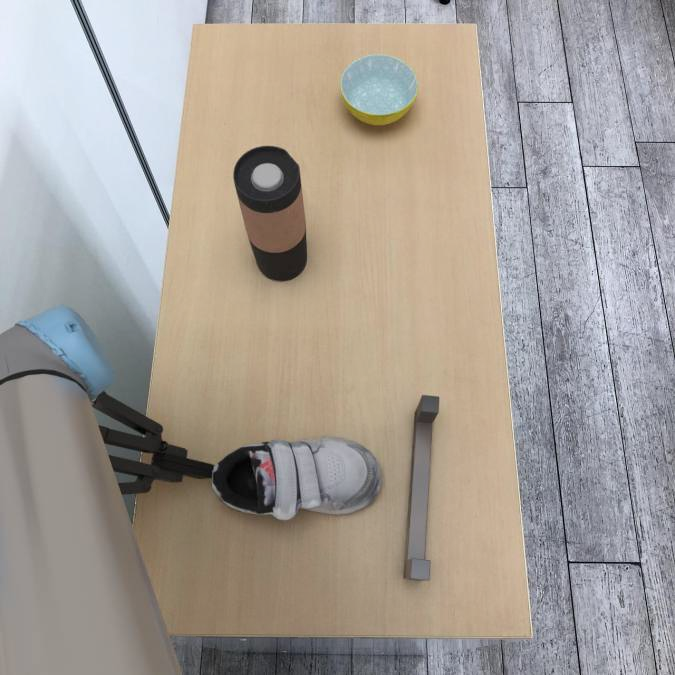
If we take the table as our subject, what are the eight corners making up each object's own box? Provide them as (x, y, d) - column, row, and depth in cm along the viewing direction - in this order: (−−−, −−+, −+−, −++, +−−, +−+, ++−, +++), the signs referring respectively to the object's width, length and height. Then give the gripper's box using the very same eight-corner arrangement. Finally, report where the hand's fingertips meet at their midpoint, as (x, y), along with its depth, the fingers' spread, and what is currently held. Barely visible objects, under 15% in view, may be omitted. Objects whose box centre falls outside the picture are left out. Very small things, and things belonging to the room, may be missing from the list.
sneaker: (383, 521, 75) (389, 512, 66) (219, 530, 75) (203, 522, 66) (376, 436, 79) (381, 416, 70) (221, 444, 79) (205, 425, 70)
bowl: (396, 153, 95) (399, 125, 89) (327, 126, 97) (326, 97, 91) (425, 99, 99) (430, 69, 93) (358, 74, 100) (360, 43, 95)
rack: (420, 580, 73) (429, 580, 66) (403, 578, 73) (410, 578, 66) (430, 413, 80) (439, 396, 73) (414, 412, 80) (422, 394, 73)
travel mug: (250, 279, 87) (225, 197, 69) (260, 232, 90) (239, 140, 71) (304, 286, 87) (294, 205, 68) (313, 238, 90) (305, 148, 71)
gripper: (2, 363, 64) (199, 420, 79) (-39, 495, 59) (178, 529, 74) (30, 351, 58) (234, 414, 73) (-14, 494, 54) (214, 530, 69)
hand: (206, 471), depth 74 cm, fingers closed
